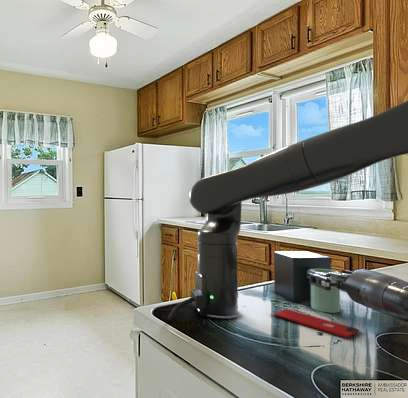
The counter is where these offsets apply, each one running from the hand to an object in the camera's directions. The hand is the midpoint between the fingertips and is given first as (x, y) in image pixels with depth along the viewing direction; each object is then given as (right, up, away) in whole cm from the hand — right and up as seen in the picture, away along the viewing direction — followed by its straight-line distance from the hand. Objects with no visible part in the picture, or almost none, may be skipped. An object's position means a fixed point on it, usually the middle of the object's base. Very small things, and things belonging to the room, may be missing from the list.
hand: (326, 273), depth 80 cm
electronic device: (-9, -9, -9) cm, 16 cm away
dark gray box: (0, -9, +11) cm, 14 cm away
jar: (0, -9, +1) cm, 9 cm away
